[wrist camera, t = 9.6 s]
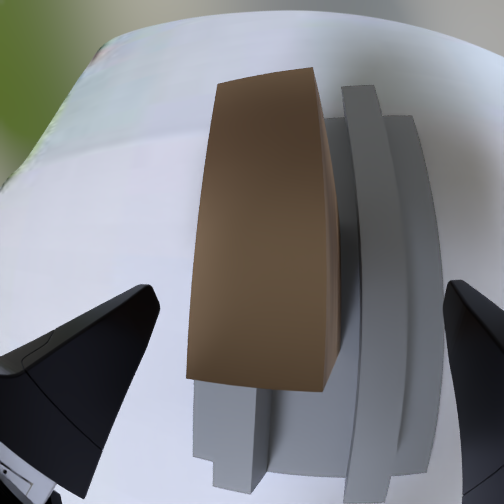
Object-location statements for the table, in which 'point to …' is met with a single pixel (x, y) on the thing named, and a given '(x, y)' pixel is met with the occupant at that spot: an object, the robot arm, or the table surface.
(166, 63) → the table surface
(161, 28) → the table surface
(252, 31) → the table surface
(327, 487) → the table surface
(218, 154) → the plaque
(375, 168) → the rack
